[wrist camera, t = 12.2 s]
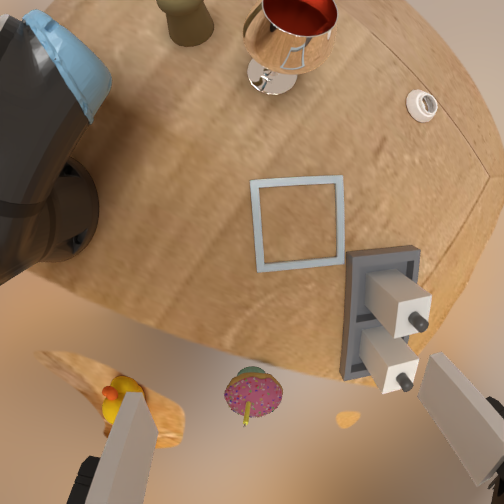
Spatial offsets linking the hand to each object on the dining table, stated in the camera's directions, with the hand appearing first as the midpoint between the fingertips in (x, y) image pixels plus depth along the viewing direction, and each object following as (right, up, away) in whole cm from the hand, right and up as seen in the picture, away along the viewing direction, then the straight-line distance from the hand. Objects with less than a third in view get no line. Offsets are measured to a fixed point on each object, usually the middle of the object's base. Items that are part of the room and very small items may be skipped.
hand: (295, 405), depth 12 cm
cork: (-10, +36, +19) cm, 42 cm away
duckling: (-23, -16, +34) cm, 44 cm away
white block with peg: (+17, +1, +30) cm, 34 cm away
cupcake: (-2, -13, +34) cm, 36 cm away
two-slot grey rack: (+17, -3, +32) cm, 36 cm away
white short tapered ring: (+22, +28, +24) cm, 43 cm away
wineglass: (+1, +29, +22) cm, 37 cm away
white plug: (+18, -8, +33) cm, 38 cm away
